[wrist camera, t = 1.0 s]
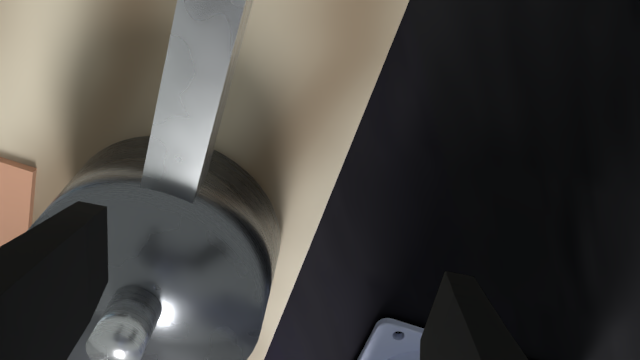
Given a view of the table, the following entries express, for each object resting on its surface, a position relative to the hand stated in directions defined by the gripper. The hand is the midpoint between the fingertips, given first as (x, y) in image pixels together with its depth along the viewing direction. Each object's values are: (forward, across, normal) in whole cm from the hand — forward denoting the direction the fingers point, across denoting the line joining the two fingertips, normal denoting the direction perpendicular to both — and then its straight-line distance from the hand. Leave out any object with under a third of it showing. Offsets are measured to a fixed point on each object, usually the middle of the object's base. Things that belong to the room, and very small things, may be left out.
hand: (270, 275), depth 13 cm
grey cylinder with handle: (+8, +4, +1) cm, 9 cm away
